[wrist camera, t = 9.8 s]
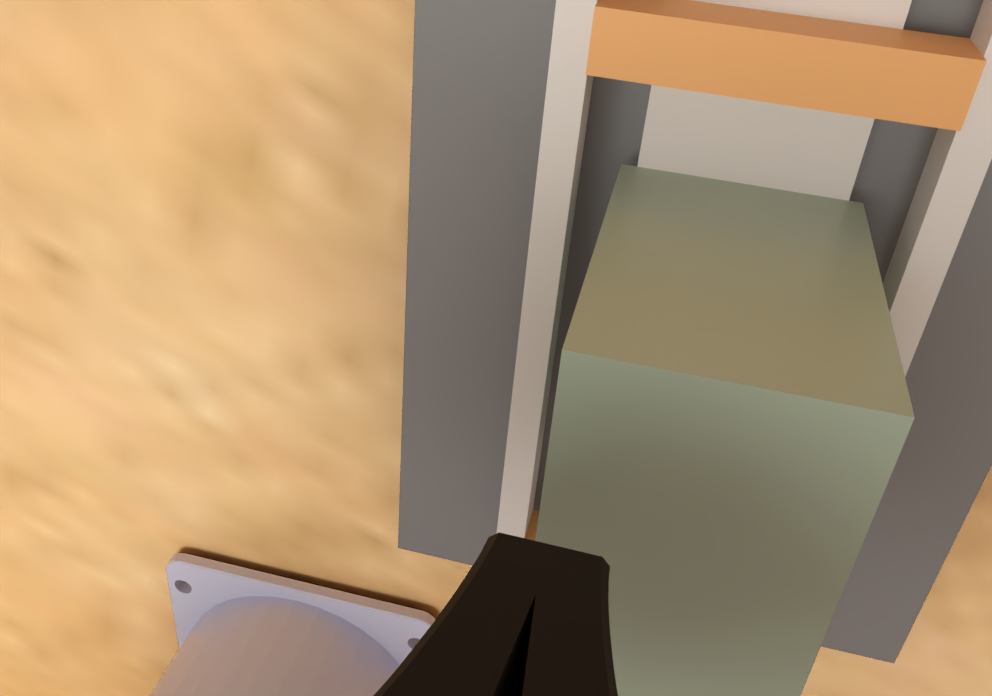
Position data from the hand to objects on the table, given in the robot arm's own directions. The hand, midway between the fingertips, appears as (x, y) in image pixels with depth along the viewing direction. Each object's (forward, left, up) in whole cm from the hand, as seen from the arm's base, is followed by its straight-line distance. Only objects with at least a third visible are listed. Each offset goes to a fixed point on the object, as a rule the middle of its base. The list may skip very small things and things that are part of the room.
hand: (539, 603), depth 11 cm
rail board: (-1, -2, -9) cm, 10 cm away
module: (0, -2, -8) cm, 8 cm away
